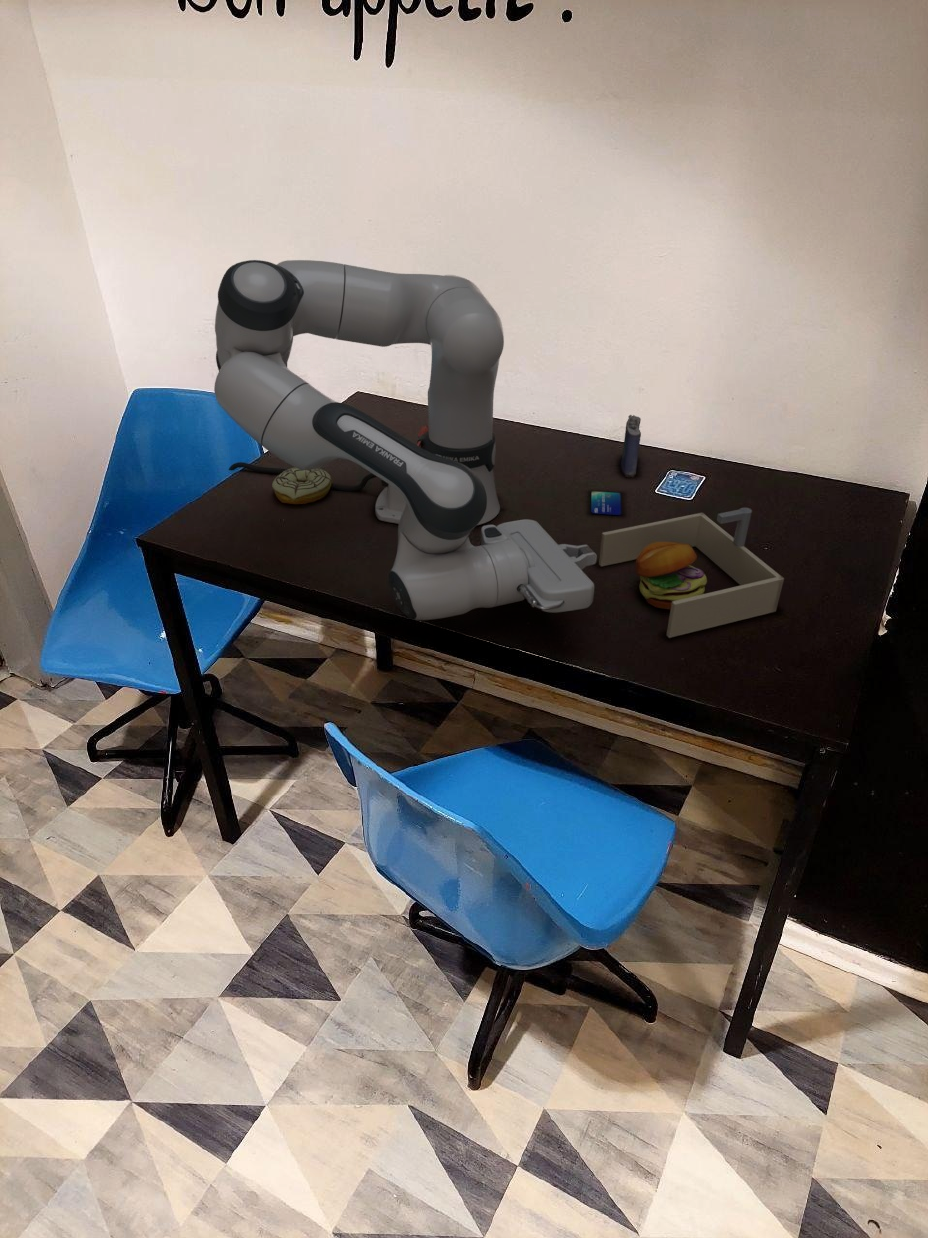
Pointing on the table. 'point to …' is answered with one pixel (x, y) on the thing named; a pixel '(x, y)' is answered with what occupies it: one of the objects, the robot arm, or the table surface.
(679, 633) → the grey u-shaped wall
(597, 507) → the credit card
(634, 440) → the flask
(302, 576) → the table surface
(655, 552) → the cheeseburger
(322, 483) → the decorated donut
